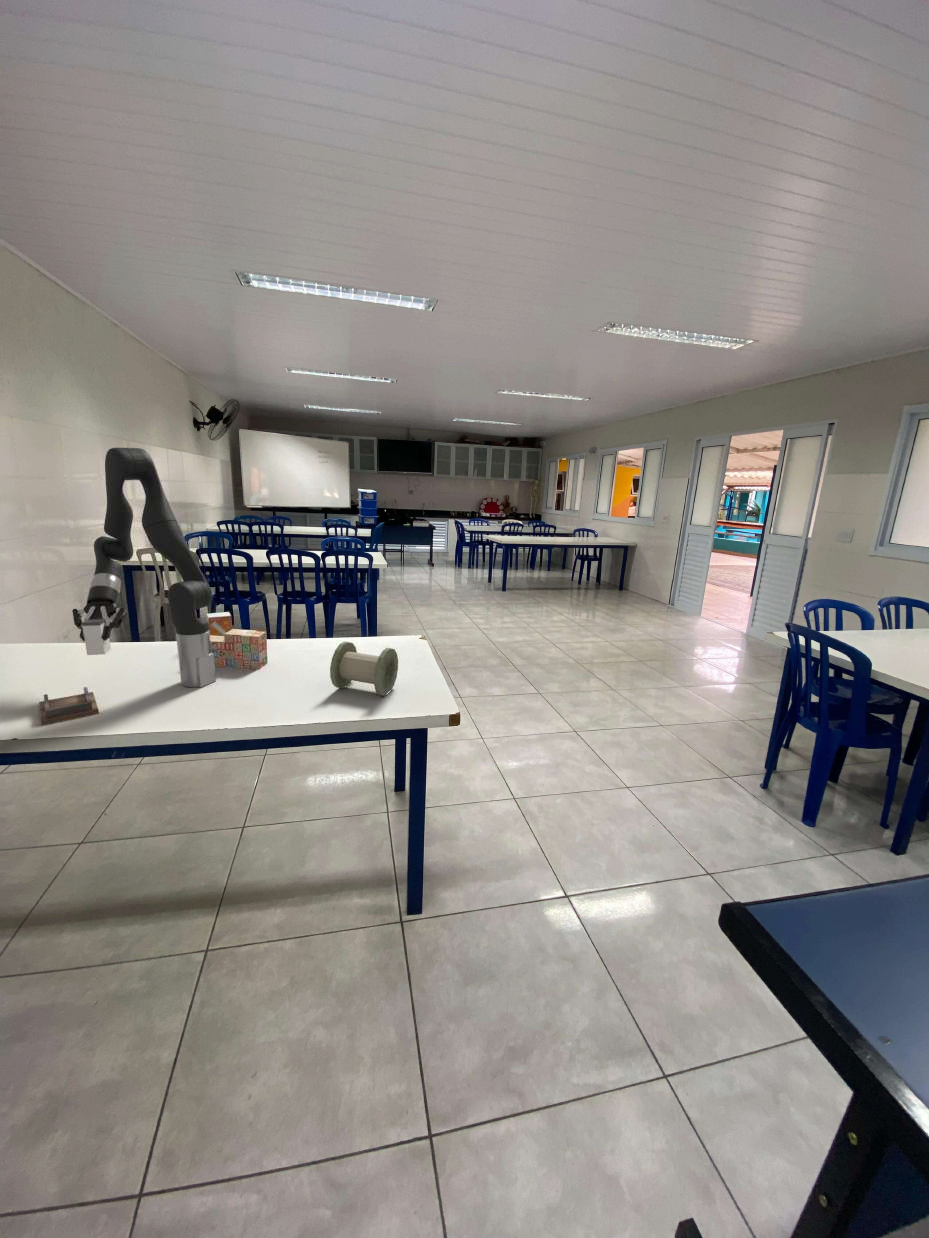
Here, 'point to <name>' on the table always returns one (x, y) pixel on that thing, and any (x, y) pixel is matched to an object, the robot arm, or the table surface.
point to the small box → (219, 623)
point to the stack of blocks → (240, 649)
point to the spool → (364, 668)
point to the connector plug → (95, 636)
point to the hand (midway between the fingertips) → (94, 639)
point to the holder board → (67, 707)
